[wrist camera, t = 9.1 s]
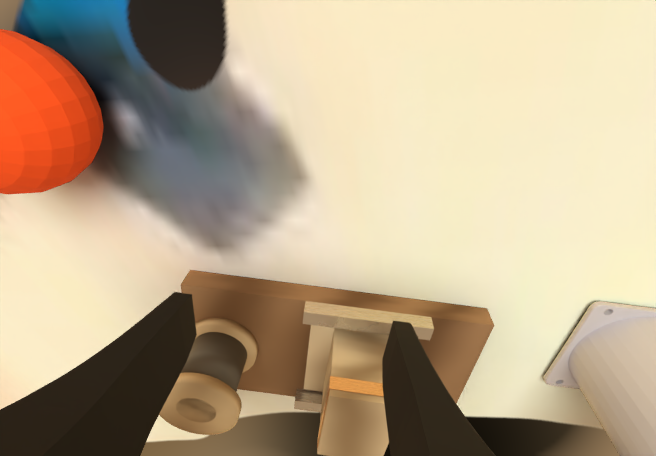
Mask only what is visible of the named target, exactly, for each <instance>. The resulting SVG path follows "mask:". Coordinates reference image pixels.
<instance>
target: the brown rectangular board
mask: <svg viewBox="0 0 656 456" xmlns="http://www.w3.org/2000/svg"><path fill="white" fill-rule="evenodd" d="M181 290H182V293H185V294H192V299H193V308H194V316H195V323H196V322H198V321H200V320H203V319H207V318H224V319H229V320H232V321H235V322H237V323H239V324H241V325H243V326H244V327H246V328H247V329H248V330H249V331H250V332H251V333H252V334H253V335H254V336H255V338H256V340H257V343H258V353H257V357H256V360H255V363H254V365H253V366H252V367H251V368H250V369H249V370H247V371H245V372H243V373H242V375H241V378H240V382H239V385H238V388H237V389H242V390H249V391H257V392H265V393H272V394H280V395H287V396H295V397H296V398H295V407H294V409H300V410H307V411H315V412H321V407H322V396H323V385H324V379H325V374H326V369H327V364H328V359H329V353H330V348H331V343H332V338H333V333H334V328H339V329H346V330H354V331H362V332H369V333H377V334H385V335H389V333H390V330H391V326H392V322H393V321H401V322H408V323H411V324H412V326H413V328H414V330H415V332H416V334H417V336H418V338H419V340H420V342H421V344H422V346H423V348H424V350H425V352H426V354H427V356H428V358H429V360H430V362H431V363H432V365H433V367H434V369H435V370H436V372H437V374H438V376H439V377H440V379H441V381H442V382H443V384H444V386H445V387H446V389H447V390H448V392H449V394H450V395H451V397H452V398H453V400H454V401H455V403H457V401H458V399H459V397H460V395H461V393H462V391H463V389H464V387H465V385H466V382H467V380H468V378H469V376H470V374H471V372H472V370H473V368H474V366H475V364H476V362H477V360H478V358H479V356H480V354H481V352H482V350H483V347H484V345H485V343H486V341H487V339H488V337H489V335H490V333H491V331H492V329H493V327H494V324H493V321H492V319H491V317H490V314H489V312H488V310H487V309H486V308H478V307H471V306H463V305H455V304H447V303H440V302H432V301H424V300H417V299H409V298H401V297H393V296H386V295H378V294H370V293H363V292H355V291H347V290H339V289H332V288H324V287H316V286H309V285H301V284H293V283H285V282H278V281H270V280H262V279H255V278H247V277H239V276H231V275H224V274H216V273H208V272H201V271H193V270H190V271H189V273H188V274H187V276H186V277H185V279H184V281H183V282H182V284H181Z"/></svg>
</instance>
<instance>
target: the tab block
mask: <svg viewBox="0 0 656 456" xmlns="http://www.w3.org/2000/svg"><path fill="white" fill-rule="evenodd" d="M388 337H389V335H385V334H377V333H369V332H362V331H354V330H346V329H339V328H334V333H333V338H332V343H331V348H330V353H329V359H328V364H327V369H326V374H325V379H324V385H323V396H322V407H321V418H320V428H319V433H318V441H317V448H318V450H317V454H321V455H328V456H383V455H384V453H385V450H386V448H387V445H388V443H389V438H388V429H387V421H386V413H385V404H384V396H383V382H382V358H383V355H384V351H385V348H386V344H387V340H388Z"/></svg>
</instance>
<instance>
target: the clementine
mask: <svg viewBox="0 0 656 456" xmlns="http://www.w3.org/2000/svg"><path fill="white" fill-rule="evenodd" d="M103 127H104V126H103V120H102V113H101V109H100V106H99V104H98V101H97V99H96V97H95V94H94V92H93V91H92V89H91V88H90V86H89V84H88V83H87V81H86V80H85V78H84V77H83V76H82V74H81V73H80V72H79V71H78V70H77V69H76V68H75V67H74V66H73V65H72V64H71V63H70V62H69V61H68V60H67V59H65V58H64V57H63V56H61V55H60V54H59V53H57V52H56V51H54V50H53V49H52V48H50V47H48V46H45V45H43V44H41V43H39V42H37V41H35V40H32V39H30V38H28V37H26V36H24V35H21V34H19V33H17V32H13V31H8V30H3V29H0V193H3V194H19V193H36V192H44V191H46V190H49V189H52V188H54V187H57V186H60V185H62V184H65V183H67V182H70V181H72V180H73V179H74V178H75V177H76V176H78V175H79V174H80V173H81V172H82V171H83V170H84V169H85V168H87V167H88V166H89V165H90V164H91V163H92V162H93V160H94V157H95V155H96V153H97V151H98V149H99V147H100V144H101V141H102V135H103Z"/></svg>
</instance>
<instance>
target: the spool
mask: <svg viewBox="0 0 656 456" xmlns="http://www.w3.org/2000/svg"><path fill="white" fill-rule="evenodd" d="M195 324H196V333H197V335H196V338H195V341H194V343H193V346H192V349H191V351H190V354H189V357H188V359H187V362H186V364H185V366H184V368H183V370H182V371H181V373H180V375H179V377H178V379H177V381H176V383H175V385H174V387H173V389H172V391H171V393H170V394H169V396H168V398H167V400H166V402H165V404H164V406H163V408H162V410H161V412H160V413H159V415H160V416H161V417H162V418H163V419H164V420H165V421H167V422H168V423H170V424H171V425H173V426H175V427H177V428H179V429H182V430H184V431H188V432H191V433H196V434H204V435H212V434H220V433H223V432H226V431H228V430H230V429H232V428H233V427H234V426H235V425H236V423H237V421H238V418H239V414H240V411H241V400H240V398H239V396H238V394H237V393H236V391H237V388H238V385H239V382H240V378H241V375H242V373H243V372H245V371H247V370H249V369H250V368H251V367H252V366H253V365H254V363H255V360H256V357H257V353H258V343H257V340H256V338H255V336H254V335H253V334H252V333H251V332H250V331H249V330H248V329H247V328H246V327H244V326H243V325H241V324H239V323H237V322H235V321H232V320H229V319H224V318H207V319H203V320H200V321H198V322H196V323H195Z"/></svg>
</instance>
